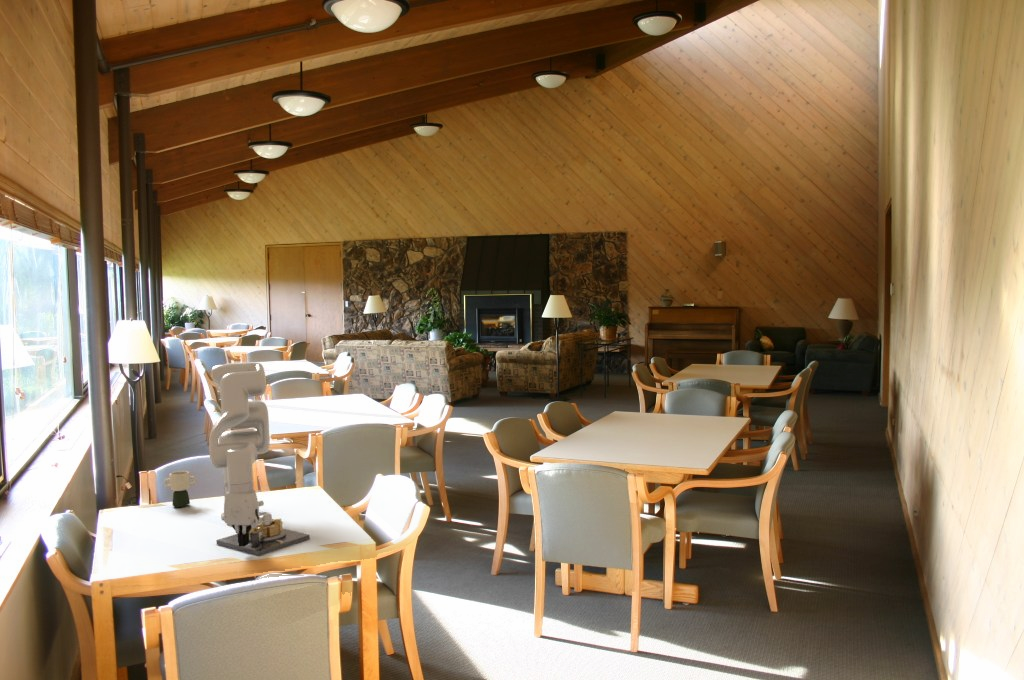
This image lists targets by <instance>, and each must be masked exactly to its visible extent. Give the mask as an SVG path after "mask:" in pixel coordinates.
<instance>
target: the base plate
mask: <svg viewBox="0 0 1024 680" xmlns="http://www.w3.org/2000/svg"><path fill="white" fill-rule="evenodd" d="M272 516H273V515H272V514H271V513H262V514H259V521H258V523H259V524H260V523H265V526H270V525H272V519H273V517H272ZM258 527H259V526H258ZM310 539H311V538H310V534H307V533H304V532H299V531H294V530H290V529H286V528H283V531H282V532H281V533H279V534H278V535H275V536H271V537H269V536H268V537H262V539H261V540H260V541H259V542H260V547H258V548H251V538H250V536H249V544H248V545H246V546H244V547H242V546H239V542H238V534H237V533H236V534H231V535H229V536H225V537H222V538H219V539H216V541H215V542H216V545H217V544H218V545H217V546H220V545H221V547H224V548H228V549H231V550H236V551H239V552H241V553H242V552H243V553H246V554H249V555H252V556H253V555H254V556H258V557H260V556H264V555H266V554H270V553H272V552H274V551H278V550H281V549H286V548H287V547H290V546H293V545H297V544H300V543H302V542H306V541H309V540H310Z"/></svg>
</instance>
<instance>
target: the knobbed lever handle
mask: <svg viewBox="0 0 1024 680" xmlns="http://www.w3.org/2000/svg"><path fill="white" fill-rule="evenodd" d="M252 524H253V523H252ZM283 529H284V528H283V521H282V518H275V519H274V518H272V525H270V526H265V523H260V524H259V527H256V528H252V529H251V530H250V532H249V536H250V538H251V548H258V547H260V542H259V541H260V540H261V539H262V537H268V536H269V537H271V536H275V535H278V534H279V533H281V532H282V531H283Z"/></svg>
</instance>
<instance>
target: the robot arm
mask: <svg viewBox="0 0 1024 680" xmlns="http://www.w3.org/2000/svg"><path fill="white" fill-rule="evenodd" d="M210 375H211V379H212V382H213V383H214V385H215V386H216V388H217V389H218V391H219V396H220V410H221V411H220V412H221V416H220V418H218V420H217V421H216V422H215V423H214V424H213V426H212V428H211V430H210V433H209V439H208V447H209V448H208V449H209V450H208V451H209V461H210V464H211V465H212V467H213V468H215V469H222V475H223V490H224V491H223V492H224V493H223V495H224V503H223V512H222V513H221V514H220V518H221V519H222V520H224V523H225V524H226V526H227V527H229V528H232V529H233V530H235V533H236V534H238V542H239V546H242V547H244V546H246V545H248V544H249V532H250V530H251V529H252V528H256V527H258V526H259V523H258V521H259V515H260V509H259V508H260V507H262V506H264V505H265V504H264V503H265V502H264V501H263V500H258V496H257V492H256V490H254V474H253V473H254V472H253V471H254V470H253V465H254V463H255V462H256V460H257V459H258V455H263V454H265V453H267V452H268V451H269V449H270V423H269V422H270V421H269V419H270V418H269V409H268V406H267V404H266V403H265V402H264V401H262V400H252V401H249V397H259V396H264V395H265V393H266V390H267V378H266V373H265V368H264V366H263V364H261V363H260V362H244V363H243V362H241V363H224V364H217V365H216V364H215V365H214V366H213V367H212V368H211V370H210ZM252 523H253V524H252Z"/></svg>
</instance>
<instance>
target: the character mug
mask: <svg viewBox="0 0 1024 680" xmlns="http://www.w3.org/2000/svg"><path fill="white" fill-rule="evenodd" d="M190 480H191V481H192V482H191V481H190ZM168 482H169V483H168ZM194 485H196V477H195V476H193V475H192V476H191V475H190V471H187V470H179V471H178V470H177V471H173V472H171V473H169V478H164V487H165V488H170V490H171V491H173V494H172V506H173V507H176V508H177V507H178V508H179V507H186V506H187V505H190V504H191V501H190V497H189V493H188V489H190V487H191V486H194Z"/></svg>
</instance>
